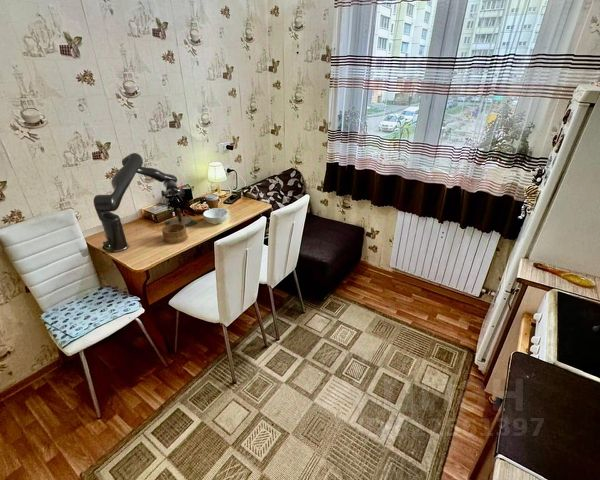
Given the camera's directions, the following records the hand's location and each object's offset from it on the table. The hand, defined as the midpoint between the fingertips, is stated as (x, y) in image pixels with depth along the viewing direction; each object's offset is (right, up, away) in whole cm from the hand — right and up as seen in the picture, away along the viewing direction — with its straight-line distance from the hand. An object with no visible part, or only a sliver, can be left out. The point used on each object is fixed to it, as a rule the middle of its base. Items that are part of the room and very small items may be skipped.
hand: (173, 195), depth 198 cm
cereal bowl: (+23, -16, +17) cm, 33 cm away
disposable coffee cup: (+16, -7, +34) cm, 39 cm away
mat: (-1, -17, +14) cm, 22 cm away
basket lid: (-1, -16, +14) cm, 21 cm away
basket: (+4, -28, -6) cm, 29 cm away
